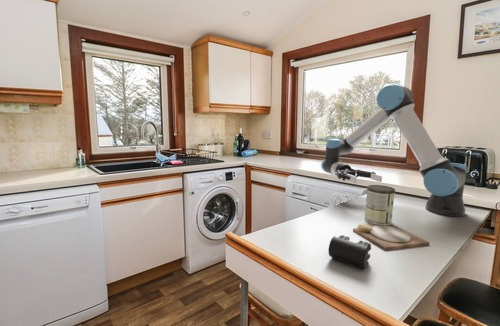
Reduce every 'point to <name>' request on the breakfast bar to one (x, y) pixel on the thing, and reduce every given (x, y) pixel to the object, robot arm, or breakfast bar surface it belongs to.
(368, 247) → the end cap
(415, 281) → the breakfast bar surface
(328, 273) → the breakfast bar surface
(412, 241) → the carrier board
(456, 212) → the robot arm
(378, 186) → the coffee can
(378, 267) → the breakfast bar surface
